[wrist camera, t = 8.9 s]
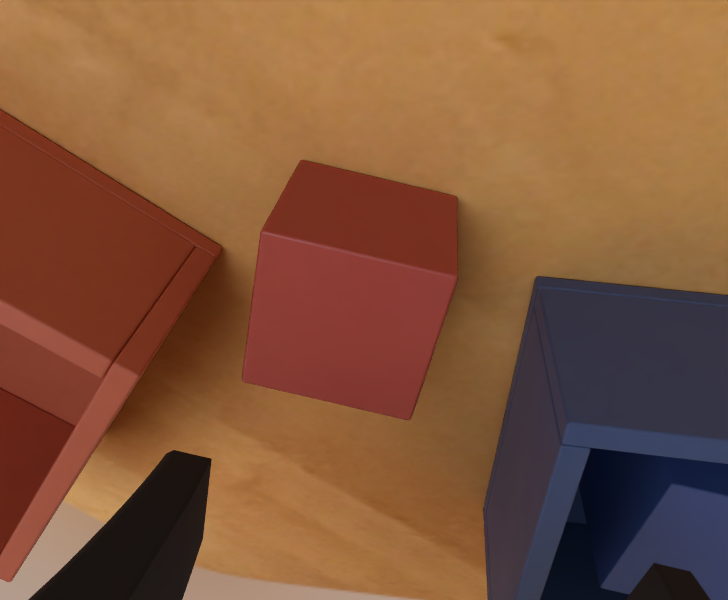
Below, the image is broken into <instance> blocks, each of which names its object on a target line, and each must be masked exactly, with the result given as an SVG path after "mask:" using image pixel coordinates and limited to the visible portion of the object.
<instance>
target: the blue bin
mask: <svg viewBox="0 0 728 600" xmlns="http://www.w3.org/2000/svg"><path fill="white" fill-rule="evenodd" d="M590 448H596V449H605V450H613V451H622V452H630V453H639V454H647V455H655V456H664V457H672V458H681V459H689V460H698V461H706V462H715V463H723V464H728V295H718V294H708V293H698V292H688V291H678V290H669V289H659V288H649V287H639V286H629V285H619V284H609V283H599V282H589V281H579V280H569V279H560V278H550V277H540V276H538V277H536V279H535V283H534V287H533V292H532V296H531V300H530V305H529V309H528V314H527V318H526V322H525V327H524V331H523V336H522V340H521V344H520V349H519V353H518V358H517V362H516V366H515V371H514V375H513V380H512V384H511V389H510V393H509V397H508V402H507V406H506V411H505V415H504V419H503V424H502V428H501V433H500V437H499V441H498V446H497V450H496V455H495V459H494V463H493V468H492V472H491V477H490V481H489V486H488V490H487V494H486V499H485V503H484V508H483V516H484V536H485V556H486V575H487V595H488V600H626V599H627V597H628V596H629V594H625V593H621V592H616V591H612V590H608V589H603V588H601V587H600V584H599V580H598V575H597V570H596V565H595V561H594V556H593V551H592V547H591V542H590V537H589V532H588V528H587V523H586V518H585V514H584V509H583V504H582V499H581V495H580V490H579V483H580V480H581V477H582V474H583V471H584V468H585V465H586V462H587V459H588V456H589V453H590V450H591V449H590Z"/></svg>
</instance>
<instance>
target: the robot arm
mask: <svg viewBox="0 0 728 600" xmlns="http://www.w3.org/2000/svg"><path fill="white" fill-rule="evenodd" d="M210 468H211V459H210V458H206V457H201V456H197V455H193V454H188V453H184V452H180V451H176V450H173V451H171V452H169V453H166V455H165V456H164V457H163V459H162V460H161V461H160V462H159V464H158V465H157V466H156V468H155V469H154V470H153V471H152V472H151V474H150V475H149V476H148V477H147V478H146V480H145V481H144V482H143V483H142V484H141V485H140V487H139V488H138V489H137V490H136V491H135V492H134V494H133V495H132V496H131V497H130V498H129V499H128V500H127V501H126V502H125V504H124V505H123V506H122V507H121V508H120V509H119V510H118V511H117V512H116V513H115V515H114V516H113V517H112V518H111V519H110V520H109V521H108V522H107V523H106V524H105V525H104V526H103V527H102V528H101V529H100V530H99V531H98V532H97V533H96V534H95V536H93V537H92V538H91V540H90V541H89V542H88V543H87V544H86V545H85V546H84V547H83V548H82V549H81V550H80V551H79V552H78V553H77V554H76V555H75V556H74V557H73V558H72V559H71V560H70V561H69V562H68V563H67V564H66V565H65V566H64V567H63V568H62V569H61V570H60V571H59V572H58V573H57V574H56V575H55V576H54V577H52V578H51V579H50V580H49V581H48V582H47V583H46V584H45V585H44V586H43V587H42V588H40V589H39V590H38V591H37V592H36V593H35V594H34V595H33V596H32V597H31V598H30V599H29V600H182V598H183V596H184V593H185V590H186V587H187V584H188V581H189V578H190V575H191V572H192V569H193V566H194V563H195V560H196V557H197V554H198V551H199V548H200V545H201V542H202V539H203V532H204V523H205V514H206V505H207V495H208V486H209V477H210ZM626 600H710V598H709V597H708V595H707V594H706V592H705V591H704V589H703V588H702V587H701V585H700V584H699V582H698V581H697V579H696V578H695V577H694V575H693V574H692V572H691V571H687V570H683V569H678V568H674V567H670V566H666V565H661V564H657V563H653V564H652V566H651V567H650V568H649V570H648V571H647V572H646V574H645V575H644V576H643V577H642V579H641V580H640V581H639V583H638V584H637V585H636V587H635V588H634V589H633V591H632V592H631V593H630V595H629V596H628V597H627V599H626Z"/></svg>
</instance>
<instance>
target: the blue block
mask: <svg viewBox="0 0 728 600" xmlns="http://www.w3.org/2000/svg"><path fill="white" fill-rule="evenodd" d="M590 449H591V450H590V453H589V456H588V459H587V462H586V465H585V468H584V471H583V474H582V477H581V480H580V483H579V490H580V495H581V499H582V504H583V509H584V514H585V518H586V523H587V528H588V532H589V537H590V542H591V547H592V551H593V556H594V561H595V565H596V570H597V575H598V580H599V584H600V587H601V588H603V589H608V590H612V591H616V592H621V593H625V594H629V595H630V593H631V592H632V591H633V589H634V588H635V587H636V585H637V584H638V583H639V581H640V580H641V579H642V577H643V576H644V575H645V574H646V572H647V571H648V570H649V568H650V567H651V566H652V564H653V563H657V564H661V565H666V566H670V567H674V568H678V569H683V570H687V571H691V572H692V574H693V575H694V577H695V578H696V579H697V581H698V582H699V584H700V585H701V587H702V588H703V589H704V591H705V592H706V594H707V595H708V597H709V598H710V600H728V464H723V463H715V462H706V461H698V460H689V459H681V458H672V457H664V456H655V455H647V454H639V453H630V452H622V451H613V450H605V449H596V448H590Z"/></svg>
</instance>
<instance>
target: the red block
mask: <svg viewBox="0 0 728 600" xmlns="http://www.w3.org/2000/svg"><path fill="white" fill-rule="evenodd" d="M457 281H458V227H457V197H455V196H452V195H448V194H444V193H439V192H435V191H431V190H427V189H423V188H418V187H414V186H410V185H406V184H401V183H397V182H393V181H389V180H385V179H380V178H376V177H372V176H368V175H364V174H359V173H355V172H351V171H347V170H343V169H338V168H334V167H330V166H326V165H322V164H317V163H313V162H309V161H305V160H300V162H299V164H298V165H297V167H296V169H295V171H294V173H293V174H292V176H291V178H290V180H289V182H288V183H287V185H286V187H285V189H284V191H283V192H282V194H281V196H280V198H279V200H278V201H277V203H276V205H275V207H274V209H273V210H272V212H271V214H270V216H269V218H268V219H267V221H266V223H265V225H264V226H263V228H262V230H261V232H260V240H259V248H258V256H257V264H256V271H255V279H254V287H253V295H252V303H251V310H250V318H249V326H248V334H247V341H246V349H245V357H244V365H243V373H242V381H243V382H246V383H250V384H254V385H258V386H263V387H267V388H271V389H276V390H280V391H284V392H289V393H293V394H297V395H301V396H306V397H310V398H314V399H319V400H323V401H327V402H331V403H336V404H340V405H344V406H349V407H353V408H357V409H362V410H366V411H370V412H374V413H379V414H383V415H387V416H392V417H396V418H400V419H404V420H410V419H411V418H412V415H413V413H414V410H415V407H416V404H417V401H418V398H419V395H420V392H421V389H422V386H423V383H424V380H425V377H426V374H427V371H428V368H429V365H430V362H431V359H432V356H433V353H434V350H435V347H436V344H437V341H438V338H439V335H440V332H441V329H442V326H443V323H444V320H445V317H446V314H447V311H448V308H449V305H450V302H451V299H452V296H453V293H454V290H455V287H456V284H457Z"/></svg>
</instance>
